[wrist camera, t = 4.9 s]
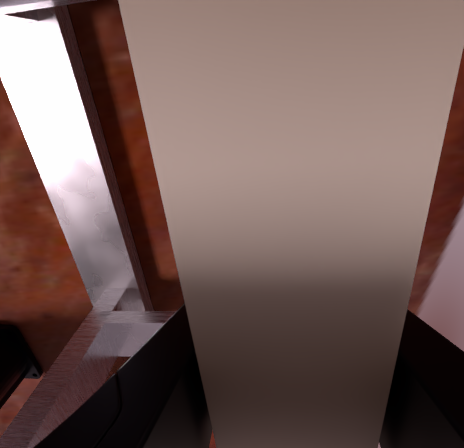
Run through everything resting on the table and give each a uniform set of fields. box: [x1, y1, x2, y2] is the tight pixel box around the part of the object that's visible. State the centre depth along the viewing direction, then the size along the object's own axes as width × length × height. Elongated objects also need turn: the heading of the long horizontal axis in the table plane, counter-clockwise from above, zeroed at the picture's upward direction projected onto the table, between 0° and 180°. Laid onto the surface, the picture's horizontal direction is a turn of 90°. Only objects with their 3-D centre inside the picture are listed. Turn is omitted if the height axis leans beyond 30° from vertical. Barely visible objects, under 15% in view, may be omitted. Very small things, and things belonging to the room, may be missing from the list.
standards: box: [0, 0, 176, 448], centre depth 14 cm, size 24×8×12 cm, turn 6°
